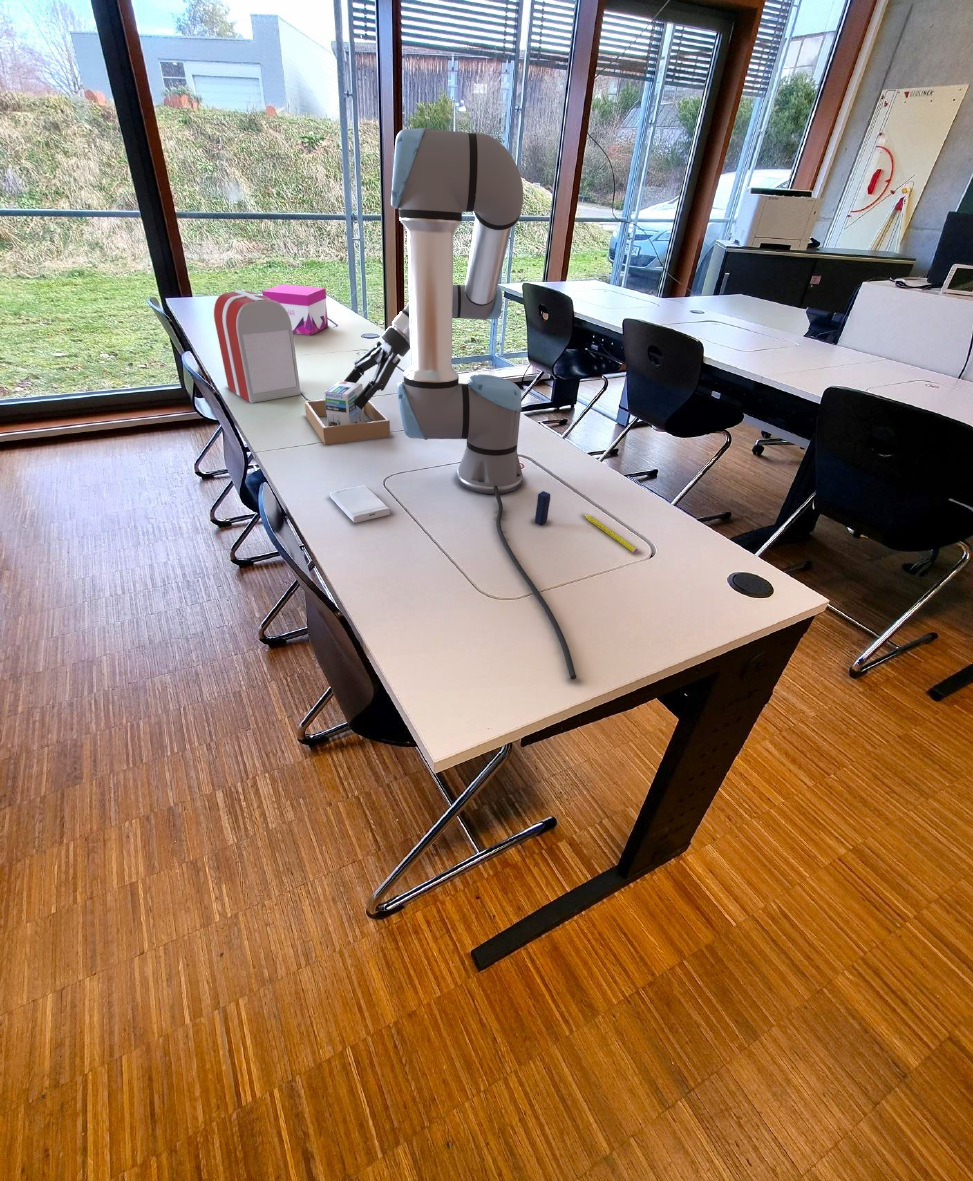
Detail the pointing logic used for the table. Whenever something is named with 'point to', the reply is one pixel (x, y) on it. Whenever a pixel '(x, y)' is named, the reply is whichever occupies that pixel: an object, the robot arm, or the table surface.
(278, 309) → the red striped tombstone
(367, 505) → the hard drive
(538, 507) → the navy blue rectangular block
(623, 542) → the pencil
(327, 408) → the light bulb box
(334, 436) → the shallow wooden tray
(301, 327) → the decorative box
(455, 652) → the table surface
